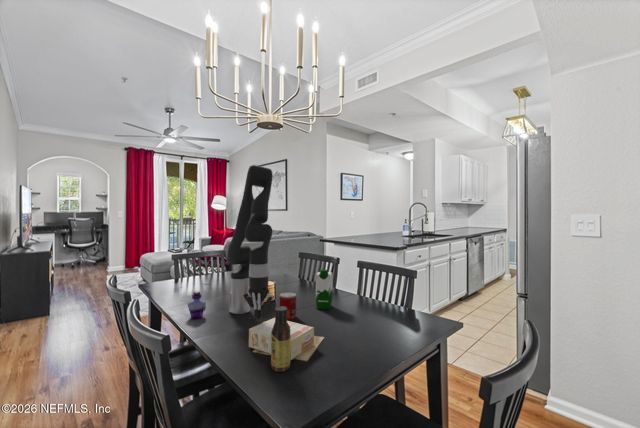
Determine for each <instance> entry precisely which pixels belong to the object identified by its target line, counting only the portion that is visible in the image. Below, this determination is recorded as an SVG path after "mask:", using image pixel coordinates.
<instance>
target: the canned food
mask: <svg viewBox="0 0 640 428" xmlns="http://www.w3.org/2000/svg"><path fill="white" fill-rule="evenodd" d="M280 306H284V307H287V321H291V320H295V319H296V317H297V293H295V292H288V291H287V292H281V293H280V294H279V307H280Z"/></svg>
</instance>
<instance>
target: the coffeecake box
mask: <svg viewBox="0 0 640 428" xmlns="http://www.w3.org/2000/svg"><path fill="white" fill-rule="evenodd" d="M274 323H275V317H273V318H271V319H268V320H267V321H266V322H264V323H262V322H261V323H260V324H259V323H258V324H257V325H255V326H252V327H251V328H248V348H252V349H253V350H255V349H257V350H260V351H263V352H266V353H269V354H271V332H272V329H273V326H274ZM287 323H288V325H289V326H290V336H291V347H290V361H293V360H295V359H294V358H295V357H296V356H298V355H299V354H301V353H302V352H304V351H305V350H307V349H308V348H310V347H311V346H312V345H314V336H315V327H314V326H310V325H306V324H301V323H298V322H293V321H291V320H287Z"/></svg>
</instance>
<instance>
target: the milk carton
mask: <svg viewBox="0 0 640 428" xmlns="http://www.w3.org/2000/svg"><path fill="white" fill-rule="evenodd" d="M333 286H334V283H333V272H332V271H331V272H330V271H329V270H328V269H320V270H319V271H317V273H316V274H315V304H316V305H315V306H316V310H331V307H332V302H333V293H334V292H333Z"/></svg>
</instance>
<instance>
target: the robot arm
mask: <svg viewBox="0 0 640 428" xmlns="http://www.w3.org/2000/svg"><path fill="white" fill-rule="evenodd" d="M246 173H247V174H246V177H245V178H246V179H245V184H244V190H243V195H242V199H241V204H240V205H239V206H240V207H239V211H238V214H237V220H236V224H235V227H234V232H233V235H232V239H231V240H230V243H229V246H228V249H227V262H228V263H229V265H231V266H232V265H233V266H235V265H239V266H238V267H237V268H235V269H234V270H233V271H231V273H230V293H229V295H228V297H229V298H228V303H229V305H228V307H229V309H228V311H229V312H228V313H231V314H234V315H243V314H247V313H249V312H250V311H251V308H252V309H254V318H255V320H260V319H262V317H263V314H264V313H263V312H264V309H266V308H267V307H268V306H269V305H270V304H271V303H272V301H273V300H274V298H275V296H274V295H272V294H271V293H270V290H269V274H270V271H269V263H268V262H269V258H268V257H269V247H270V243H271V239H272V237H273V236H272V235H273V228H272V226H271V225H270V224H268V223H267V222H268V220H269V202H270V196H271V190H272V183H273V171H272V169H270V168H268V167H264V166H260V165H255V164H251V165H249V167H248V171H247V172H246ZM253 187H258V188H263V190H262V191H261V192H260V193H259V194H258V195H257V196H256V197H255V198H254V195H253V194H254V193H253ZM245 240H246V241H247V242H249V243H261V242H262V245H261V246H259V247H253V248H251V247H250V246H249V245H247V244H243V242H244V241H245ZM265 299H266V300H265Z"/></svg>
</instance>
